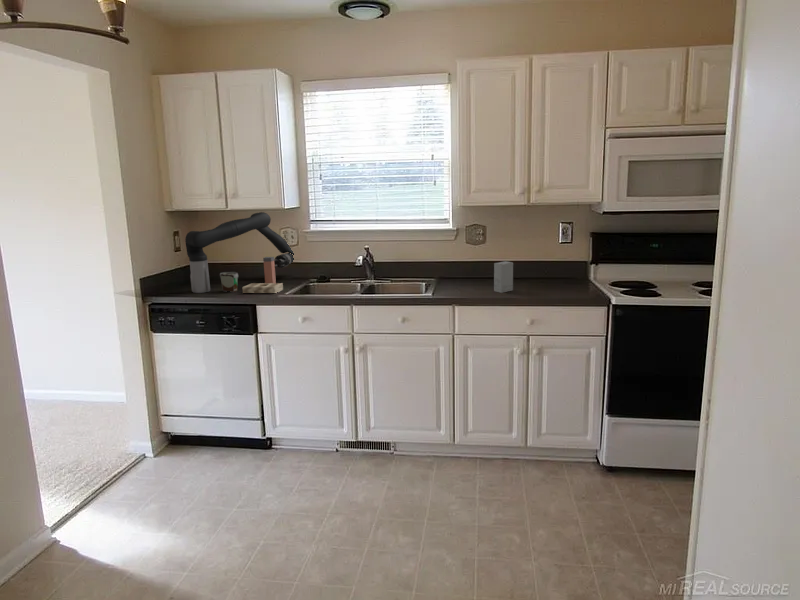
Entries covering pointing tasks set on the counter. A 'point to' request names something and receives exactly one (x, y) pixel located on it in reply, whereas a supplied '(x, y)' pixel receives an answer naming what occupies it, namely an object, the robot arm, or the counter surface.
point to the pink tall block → (269, 270)
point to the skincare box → (503, 276)
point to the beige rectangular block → (263, 288)
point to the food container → (229, 281)
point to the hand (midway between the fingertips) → (272, 264)
